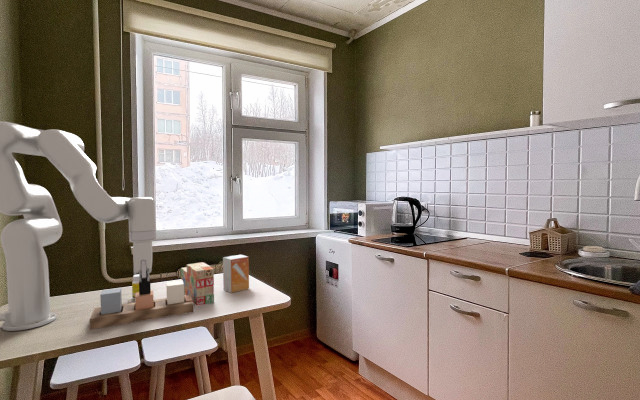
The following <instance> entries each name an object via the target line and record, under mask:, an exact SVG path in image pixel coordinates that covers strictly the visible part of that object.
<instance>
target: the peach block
mask: <svg viewBox="0 0 640 400" xmlns="http://www.w3.org/2000/svg"><path fill="white" fill-rule="evenodd" d="M153 300H154V290H151V293H150V294H144V295H139V292H138V293H136V295H135V299H134V301H135V302H134V303H135V307H136V310H139V309H146V308H152V307H154V302H153Z"/></svg>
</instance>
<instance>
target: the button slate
mask: <svg viewBox="0 0 640 400" xmlns="http://www.w3.org/2000/svg"><path fill="white" fill-rule="evenodd" d="M99 295H100V307H101V315H102V314H109V313H116V312H121V308H122V304H123V303H122V302H123V301H122V297H123V296H122V287H117V288H110V289H103V290H102V291H101V292H100V294H99Z"/></svg>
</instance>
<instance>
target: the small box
mask: <svg viewBox="0 0 640 400" xmlns="http://www.w3.org/2000/svg"><path fill="white" fill-rule="evenodd" d="M249 262H250V259H249V256H247V255H244V254H238V255H237V254H236V255H229V256H224V257H223V256H222V271H223V272H222V275H223V278H222V279H223V290H224V291H225V292H229V293H236V292H240V291H245V290H249V289H250V276H249V275H250V267H249V266H250V263H249Z"/></svg>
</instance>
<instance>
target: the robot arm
mask: <svg viewBox="0 0 640 400" xmlns="http://www.w3.org/2000/svg"><path fill="white" fill-rule="evenodd" d="M13 153H15V154H17V153H18V154H23V155H31V156H39V157H40V156H41V157H44V158H46V159H48V161H49V163H51V164H52V165H53V166H54V167H55V168H56V169H57V170H58V171H59V173H61V174H62V176H63V177H64V178H65V179H66V180H67V182H68V183H69V186H70V190H71V192H72V193H73V195H74V198H75V199H76V200H77V202H78V203H79V205H81V206H82V208H83V209H84V210H85V211H86V212H87V214H89V215H90V216H91V217H92V218H93V219H95V220H96V221H98V222H101V223H104V224H109V223H110V224H111V223H114V222H118V221H124V220H128V238H129V240H128V241H129V243H132V256H133V257H132V258H133V262H132V263H133V275H137V274H139V280H140V281H139V295H144V294H150V293H151V291H152V289H151V279H150V273H152V270H153V269H152V267H153V242H154V241H157V227H156V226H157V225H156V223H157V222H156V202H155V199H154V198H153V197H151V196H138V197H137V196H136V197H125V196H124V197H123V196H111V195H109V194H108V193H107V191H106V190H105V189H104V188H103V187H102V186H101V185H100V183H99V182H98V179H97V178H96V172H97V165H96V164H95V163H94V162H93V161H92V160H91V159H90V158H89V156H87V154H86V153H85V144H84V142H83V140H82V139H81V138H80V137H79V136H78V135H76V134H74V133H71V132H67V131H65V130H60V129H53V128H51V129H46V130H45V129H38V128H33V127H29V126H26V125H22V124H19V123H14V122H11V121H2V120H1V121H0V213H1V214H2V215H5V216H23V218H20V219H16V220H13V221H11V222H9V223H8V224H7V225H5V226H4V227H3V229H2V231H1V233H0V243H1V246H2V251H3V254H4V257H5V258H4V259H5V269H6V285H7V286H6V287H7V306H8V307H7V308H8V310H5V311H4V312H3V313H2V312H0V322H1V321H3V323H2V324H1V329H2V330H3V331H9V332H14V331H24V330H29V329H35V328H38V327H42V326H44V325H45V326H46V325H47V324H50V323H52V322H53V321H55V320H56V319H57V318H58V316H57V315H58V314H57V313H56V312H54V311H51V299H50V278H49V277H50V274H49V260H48V257H47V254H46V251H45V250H44V247H46V246H50V245H53V244H55V243H56V242H58V240H59V239H60V238H61V237H62V234H63V224H62V222H61V218H60V215H59V213H58V209H57V207H56V203H55V202H54V199H53V197H52V195H51V193H50V192H49V191H48V190H47V189H46V188H45V187H43V186H41V185H39V184H34V183H28V181H27V179H26V177H25V174H24V171H23V168H22V167H21V165H20V163H19V161H18V160H16V158H15V157H14V156H13Z"/></svg>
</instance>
